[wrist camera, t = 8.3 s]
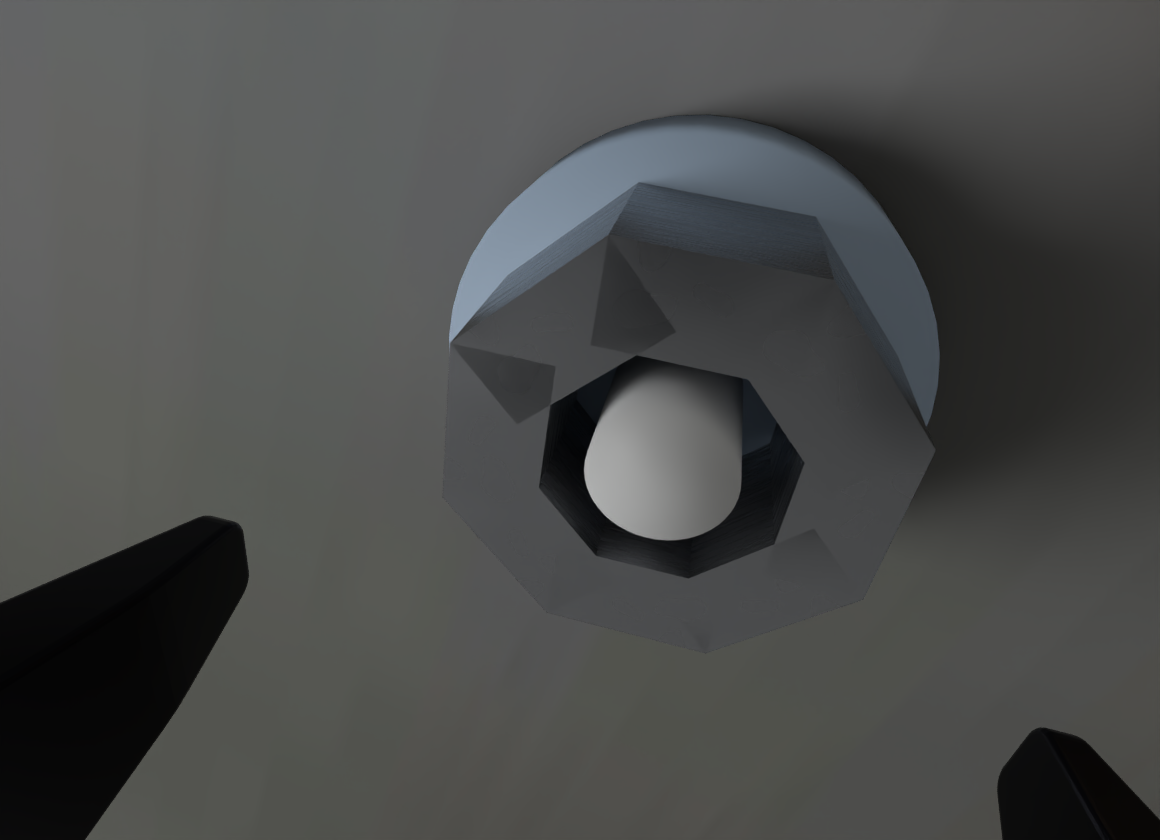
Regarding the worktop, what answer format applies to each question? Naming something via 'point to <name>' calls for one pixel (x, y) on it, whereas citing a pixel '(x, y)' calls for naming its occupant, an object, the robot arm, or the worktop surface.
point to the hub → (681, 393)
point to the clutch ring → (705, 341)
